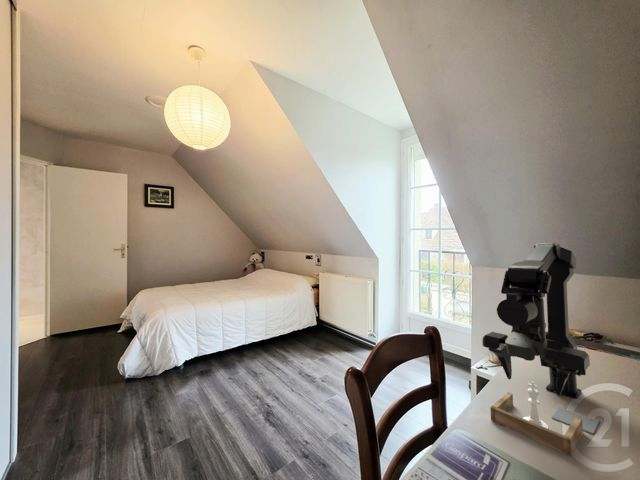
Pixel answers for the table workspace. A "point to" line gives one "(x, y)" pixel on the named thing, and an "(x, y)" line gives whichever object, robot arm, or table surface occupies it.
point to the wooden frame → (536, 427)
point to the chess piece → (534, 407)
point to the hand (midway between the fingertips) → (532, 386)
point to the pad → (569, 416)
